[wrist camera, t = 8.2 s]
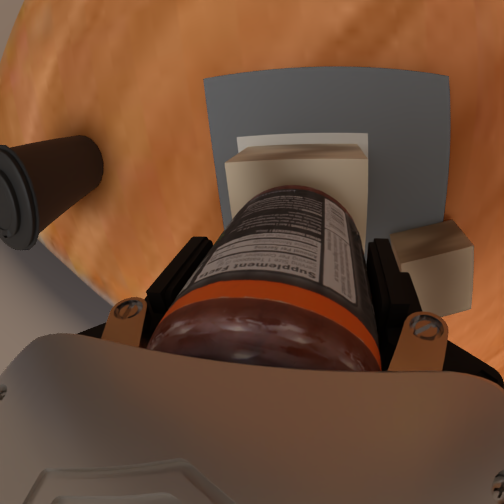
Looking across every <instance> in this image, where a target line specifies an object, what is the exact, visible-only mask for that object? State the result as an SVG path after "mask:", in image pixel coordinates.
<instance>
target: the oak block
mask: <svg viewBox="0 0 504 504" xmlns="http://www.w3.org/2000/svg"><path fill="white" fill-rule="evenodd" d="M389 235H390V240H391V246H392V250H393V253H394V256H395V259H396V261H397V264H398V267H399V270H400V272H408V273H409V274H410V276H411V279H412V282H413V285H414V287H415V290H416V293H417V296H418V299H419V302H420V305H421V308H422V311H424V312H431V313H433V314H436V315H438V316H439V317H443V316H447V315H451V314H455V313H458V312H462V311H466V310H469V309H471V303H472V290H473V270H474V245H473V244H472V243H471V242H470V240H469V239H468V238H467V237H466V235H465V234H464V233H463V232H462V230H461V229H460V228H459V227H458V226H457V224H456V223H455V222H454V221H453V220H448V221H444V222H440V223H436V224H432V225H427V226H423V227H419V228H415V229H410V230H406V231H402V232H397V233H393V234H389Z"/></svg>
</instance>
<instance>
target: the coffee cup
mask: <svg viewBox="0 0 504 504" xmlns="http://www.w3.org/2000/svg"><path fill="white" fill-rule="evenodd" d="M102 175H103V160H102V155H101V152H100V150H99V148H98V146H97V145H96V144H95V143H94V142H93V140H92V139H90V138H88V137H86V136H80V135H78V136H71V137H64V138H58V139H52V140H46V141H41V142H35V143H30V144H25V145H20V146H16V147H11V148H9V147H8V146H6V145H0V238H1V239H2V240H3V242H4V243H6V244H7V245H8V246H9V247H11V248H13V249H15V250H29V249H31V248H32V247H33V246H34V245H35V244H36V241H37V238H38V235H39V233H40V232H41V231H43V230H44V229H45V228H46V227H47V226H48V225H49V224H51V223H52V222H53V221H54V220H55V219H57V218H58V217H59V216H60V215H61V214H63V213H64V212H65V211H66V210H68V209H69V208H70V207H71V206H73V205H74V204H75V203H76V202H78V201H79V200H80V199H82V198H83V197H84V196H86V195H87V194H88V193H89V192H91V191H92V190H93V189H95V188H96V187H97V186H98V185H99V183H100V181H101V179H102Z"/></svg>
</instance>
